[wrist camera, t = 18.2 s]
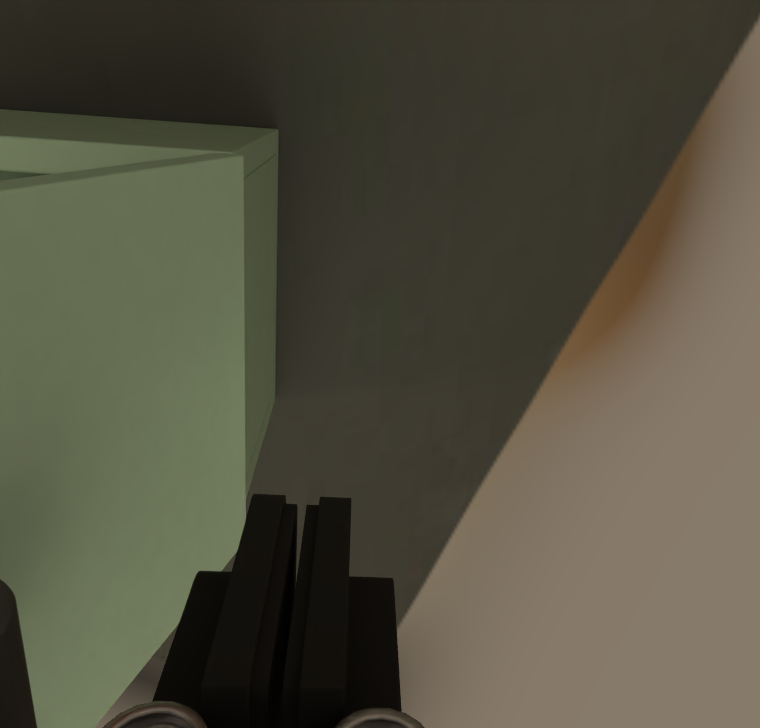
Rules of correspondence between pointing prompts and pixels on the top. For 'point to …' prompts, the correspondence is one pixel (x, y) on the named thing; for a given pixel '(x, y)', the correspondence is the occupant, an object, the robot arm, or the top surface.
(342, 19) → the top surface
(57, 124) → the green hinged lid box
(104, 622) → the green box lid
